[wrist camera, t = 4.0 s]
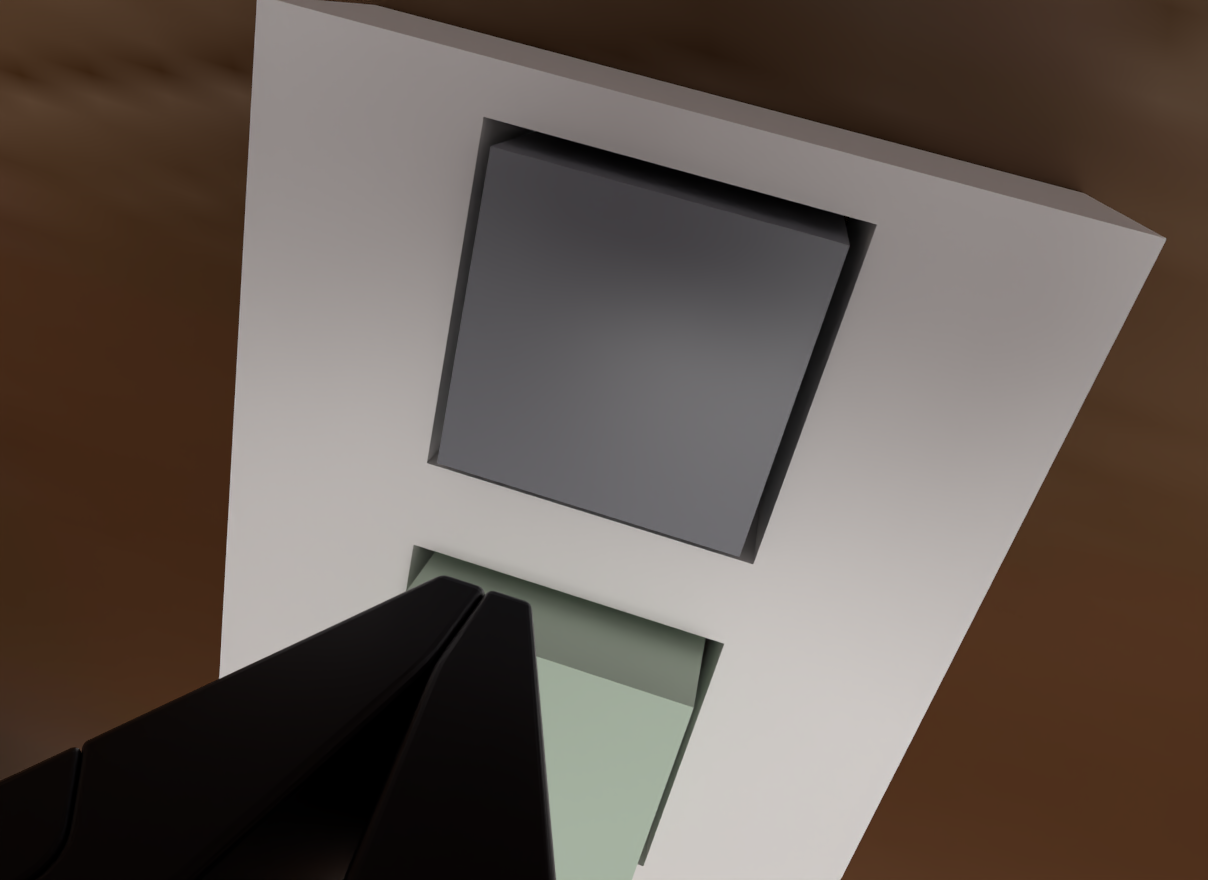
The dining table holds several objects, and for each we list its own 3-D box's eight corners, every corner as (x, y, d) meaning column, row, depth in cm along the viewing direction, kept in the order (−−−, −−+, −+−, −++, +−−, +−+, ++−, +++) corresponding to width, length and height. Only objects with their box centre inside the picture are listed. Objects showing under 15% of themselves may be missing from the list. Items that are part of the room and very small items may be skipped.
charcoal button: (751, 461, 18) (739, 557, 15) (503, 387, 18) (437, 463, 15) (841, 202, 16) (849, 245, 12) (555, 124, 16) (490, 146, 13)
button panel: (717, 992, 25) (703, 1149, 22) (285, 838, 26) (203, 964, 23) (1084, 192, 16) (1166, 238, 12) (375, 5, 17) (257, -5, 13)
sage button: (649, 772, 20) (619, 915, 17) (430, 699, 21) (359, 825, 17) (714, 584, 18) (693, 707, 15) (467, 507, 18) (393, 609, 15)
